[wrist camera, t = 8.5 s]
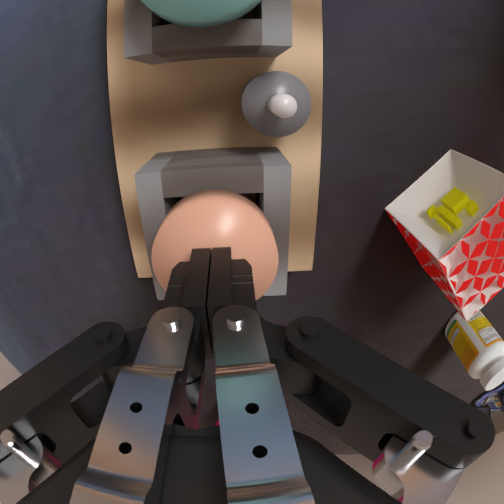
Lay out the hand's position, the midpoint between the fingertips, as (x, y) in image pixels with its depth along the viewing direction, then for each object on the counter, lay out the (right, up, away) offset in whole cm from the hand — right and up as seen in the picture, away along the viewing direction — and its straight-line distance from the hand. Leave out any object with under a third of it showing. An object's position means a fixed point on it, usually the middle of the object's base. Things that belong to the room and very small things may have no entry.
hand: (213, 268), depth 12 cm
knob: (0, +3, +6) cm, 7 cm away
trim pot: (+2, +9, +3) cm, 10 cm away
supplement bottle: (+26, -8, +18) cm, 33 cm away
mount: (-1, +10, +6) cm, 12 cm away
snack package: (+51, -30, +33) cm, 67 cm away
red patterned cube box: (+17, +4, +11) cm, 21 cm away
